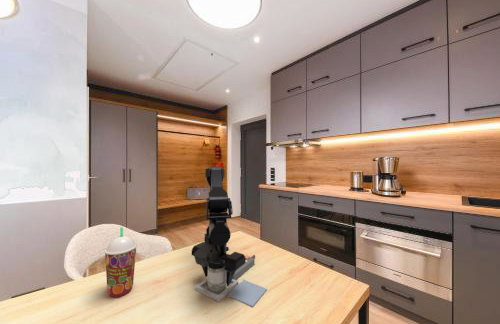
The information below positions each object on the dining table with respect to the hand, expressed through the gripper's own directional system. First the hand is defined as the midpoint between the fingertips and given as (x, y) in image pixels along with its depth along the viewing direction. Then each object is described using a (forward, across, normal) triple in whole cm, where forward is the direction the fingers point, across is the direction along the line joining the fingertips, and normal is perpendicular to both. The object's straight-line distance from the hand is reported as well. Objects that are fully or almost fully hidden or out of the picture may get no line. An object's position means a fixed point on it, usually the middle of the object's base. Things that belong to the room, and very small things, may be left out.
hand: (217, 280), depth 64 cm
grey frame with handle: (+2, 0, +9) cm, 10 cm away
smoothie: (+2, -24, -18) cm, 30 cm away
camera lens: (+2, 0, 0) cm, 2 cm away
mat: (+2, +10, +3) cm, 11 cm away
